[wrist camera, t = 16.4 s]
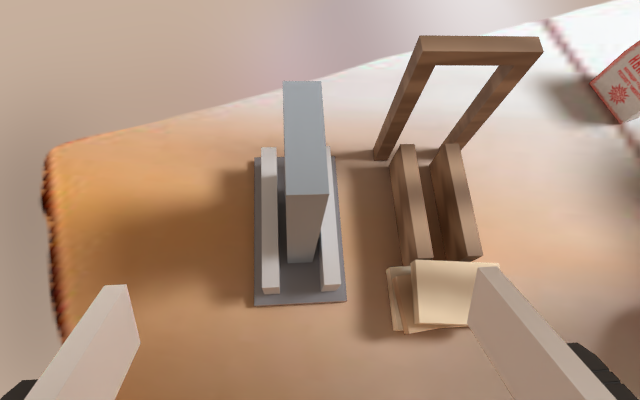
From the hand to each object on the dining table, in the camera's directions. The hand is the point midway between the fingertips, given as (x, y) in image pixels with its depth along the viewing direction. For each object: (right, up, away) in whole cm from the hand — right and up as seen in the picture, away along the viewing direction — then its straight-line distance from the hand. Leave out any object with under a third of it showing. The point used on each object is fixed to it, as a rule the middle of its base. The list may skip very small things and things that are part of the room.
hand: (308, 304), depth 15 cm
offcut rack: (+12, 0, +27) cm, 30 cm away
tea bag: (+39, +17, +36) cm, 56 cm away
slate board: (-2, +1, +26) cm, 26 cm away
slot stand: (-2, +1, +26) cm, 27 cm away
